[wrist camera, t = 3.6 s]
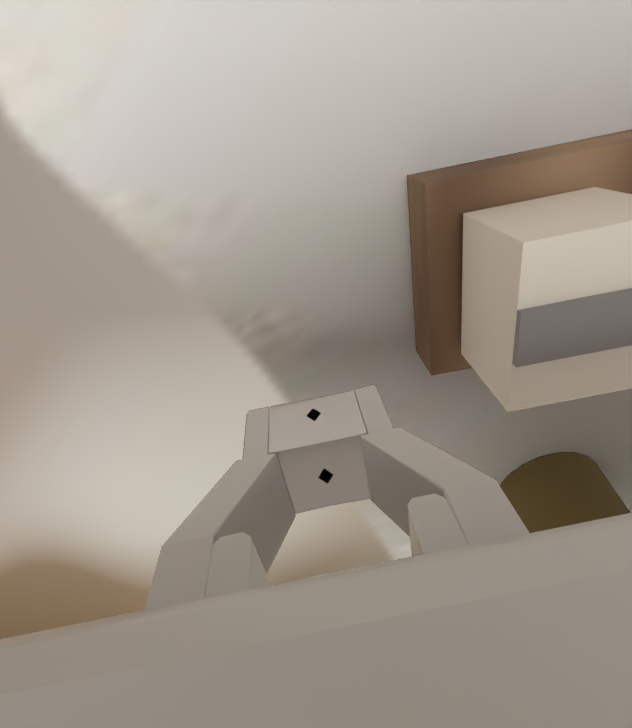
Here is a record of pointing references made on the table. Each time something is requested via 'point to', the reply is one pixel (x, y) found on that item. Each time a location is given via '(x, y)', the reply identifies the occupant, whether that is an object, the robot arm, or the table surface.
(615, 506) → the cork
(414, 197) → the slider board
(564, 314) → the fader tab
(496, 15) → the table surface
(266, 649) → the robot arm
